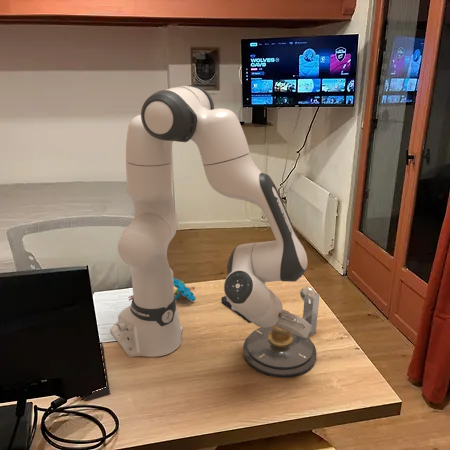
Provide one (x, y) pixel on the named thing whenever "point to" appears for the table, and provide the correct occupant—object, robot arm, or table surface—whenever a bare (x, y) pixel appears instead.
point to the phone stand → (106, 390)
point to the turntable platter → (278, 351)
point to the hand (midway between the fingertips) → (282, 324)
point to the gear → (183, 290)
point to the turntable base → (277, 372)
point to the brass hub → (280, 337)
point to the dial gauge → (310, 307)
